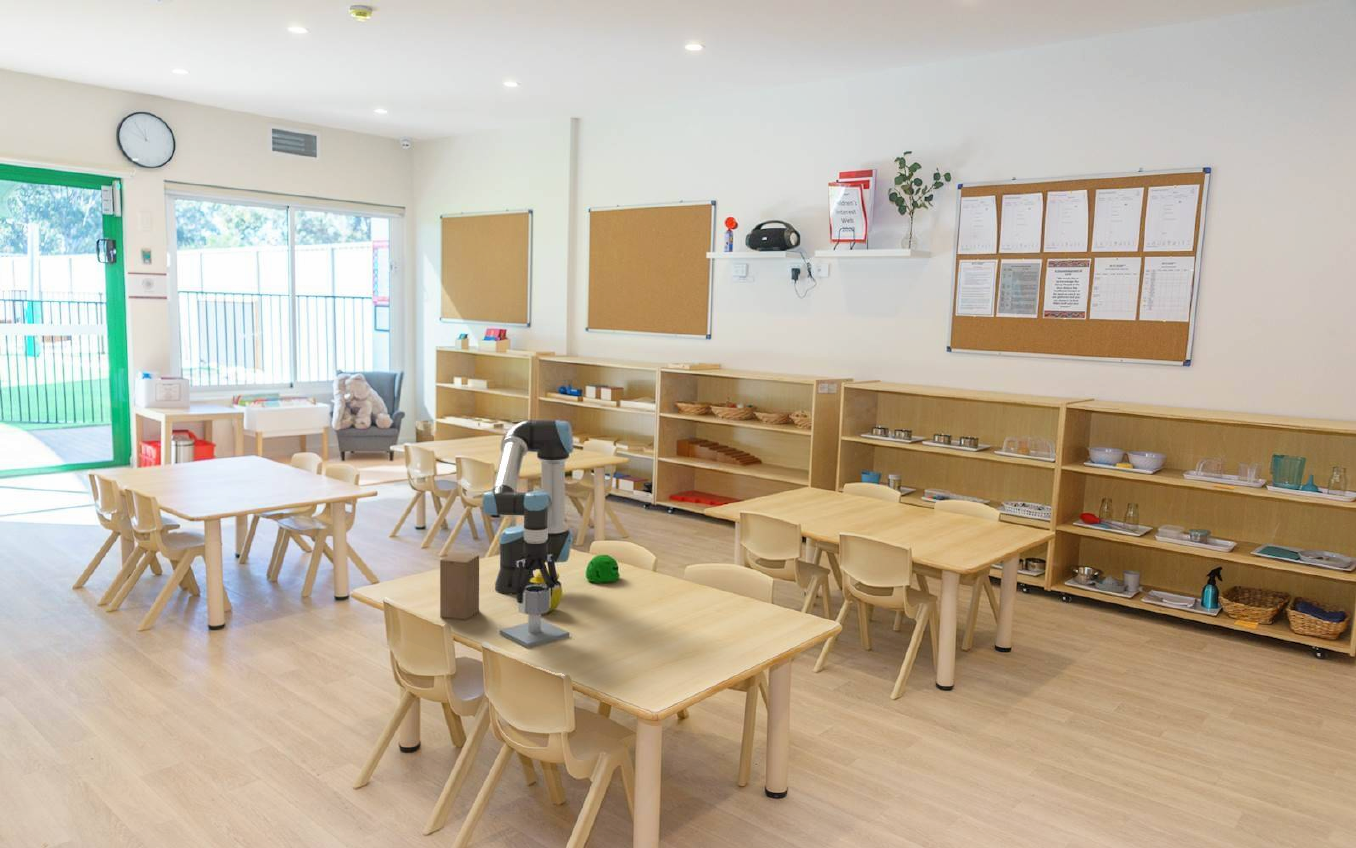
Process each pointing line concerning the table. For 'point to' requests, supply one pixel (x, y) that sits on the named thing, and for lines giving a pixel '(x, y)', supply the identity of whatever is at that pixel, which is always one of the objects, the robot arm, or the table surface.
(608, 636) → the table surface
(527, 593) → the collar ring
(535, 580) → the toy
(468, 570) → the wooden block
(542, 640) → the piston post
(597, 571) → the toy
